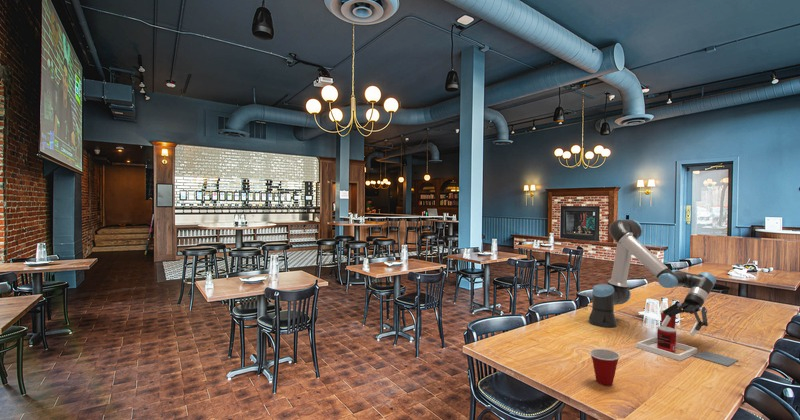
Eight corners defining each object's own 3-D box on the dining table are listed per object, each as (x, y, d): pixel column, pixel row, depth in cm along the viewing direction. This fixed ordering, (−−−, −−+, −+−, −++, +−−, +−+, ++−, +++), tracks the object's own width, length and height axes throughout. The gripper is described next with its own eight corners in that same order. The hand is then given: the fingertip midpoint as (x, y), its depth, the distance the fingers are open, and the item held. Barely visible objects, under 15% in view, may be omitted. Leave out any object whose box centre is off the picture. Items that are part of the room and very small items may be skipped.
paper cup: (670, 332, 215) (671, 308, 215) (679, 337, 208) (680, 312, 208) (656, 332, 216) (656, 308, 216) (664, 336, 209) (665, 311, 209)
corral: (636, 347, 191) (636, 342, 191) (654, 341, 201) (654, 336, 201) (679, 360, 175) (679, 355, 175) (697, 353, 185) (697, 348, 185)
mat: (693, 356, 180) (693, 355, 180) (704, 351, 187) (704, 350, 187) (727, 366, 169) (727, 365, 169) (738, 360, 176) (738, 359, 176)
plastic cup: (583, 376, 156) (583, 348, 156) (607, 376, 157) (608, 347, 157) (599, 389, 145) (599, 358, 145) (625, 388, 146) (626, 358, 146)
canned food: (672, 348, 190) (672, 327, 190) (678, 354, 183) (678, 332, 183) (654, 346, 193) (655, 325, 193) (659, 352, 185) (660, 330, 185)
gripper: (727, 308, 184) (708, 343, 178) (673, 297, 207) (655, 327, 201) (721, 298, 182) (701, 333, 176) (667, 288, 205) (648, 318, 199)
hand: (676, 330), depth 189 cm, fingers open, 13 cm apart
